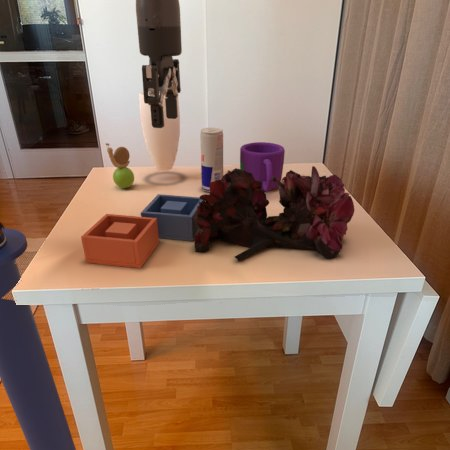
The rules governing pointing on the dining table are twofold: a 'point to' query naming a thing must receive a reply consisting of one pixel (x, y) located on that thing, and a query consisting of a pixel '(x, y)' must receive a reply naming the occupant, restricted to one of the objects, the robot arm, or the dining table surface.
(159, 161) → the white vase
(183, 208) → the blue block
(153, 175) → the dining table surface
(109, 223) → the terracotta bin
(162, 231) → the blue bin
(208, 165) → the beverage can
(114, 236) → the terracotta block
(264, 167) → the mug
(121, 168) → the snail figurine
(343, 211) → the flower arrangement
